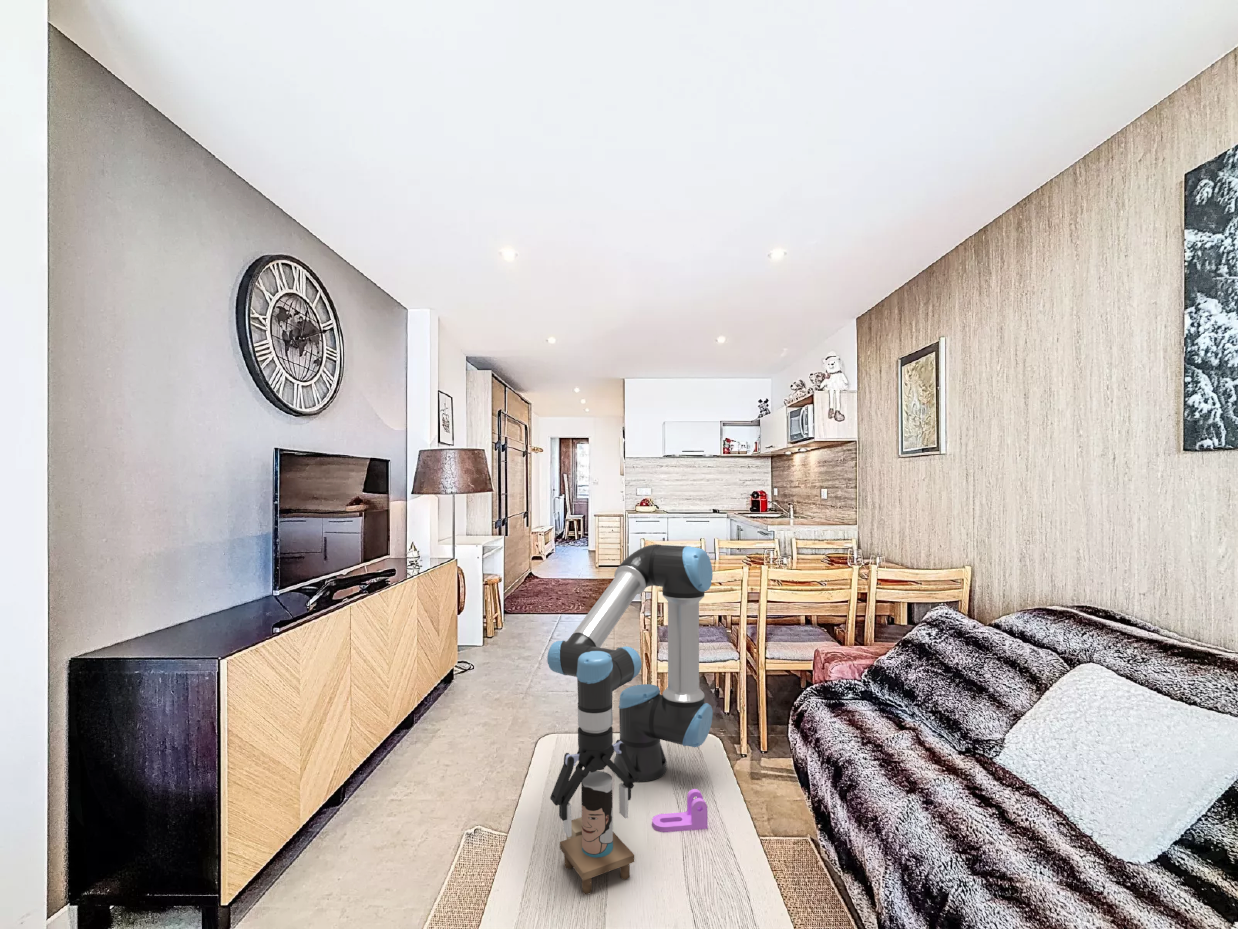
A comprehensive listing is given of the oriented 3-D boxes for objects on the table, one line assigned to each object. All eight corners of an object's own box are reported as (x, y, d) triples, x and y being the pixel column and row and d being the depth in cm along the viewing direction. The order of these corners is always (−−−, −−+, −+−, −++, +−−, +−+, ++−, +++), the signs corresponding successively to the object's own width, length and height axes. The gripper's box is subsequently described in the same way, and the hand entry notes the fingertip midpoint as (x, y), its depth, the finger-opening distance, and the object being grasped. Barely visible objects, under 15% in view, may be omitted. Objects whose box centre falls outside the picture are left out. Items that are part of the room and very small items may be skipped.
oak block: (586, 836, 148) (586, 815, 148) (595, 848, 143) (595, 826, 143) (566, 843, 145) (566, 821, 145) (575, 855, 141) (575, 833, 141)
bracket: (701, 816, 156) (701, 788, 156) (707, 829, 150) (707, 800, 150) (650, 820, 154) (650, 792, 154) (654, 833, 149) (654, 804, 149)
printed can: (579, 840, 138) (578, 772, 138) (609, 836, 139) (608, 769, 139) (584, 859, 131) (583, 788, 131) (615, 855, 133) (615, 784, 133)
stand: (608, 847, 143) (608, 826, 143) (634, 878, 133) (634, 854, 133) (560, 864, 138) (559, 841, 138) (583, 897, 127) (583, 873, 127)
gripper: (636, 708, 144) (637, 800, 144) (534, 732, 132) (535, 832, 132) (653, 720, 138) (654, 816, 138) (547, 746, 126) (549, 851, 126)
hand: (596, 824), depth 135 cm, fingers open, 13 cm apart
